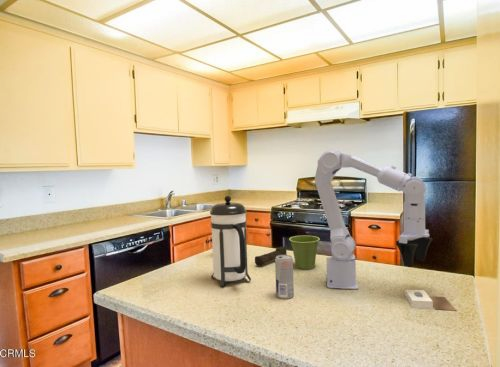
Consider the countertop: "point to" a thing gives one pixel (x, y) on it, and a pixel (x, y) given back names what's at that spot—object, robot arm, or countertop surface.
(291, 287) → the energy drink
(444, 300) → the brown flat slab
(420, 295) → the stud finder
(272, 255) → the hand tool
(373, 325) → the countertop surface
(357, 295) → the countertop surface
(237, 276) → the coffee press
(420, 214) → the robot arm
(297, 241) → the plant pot
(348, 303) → the countertop surface
